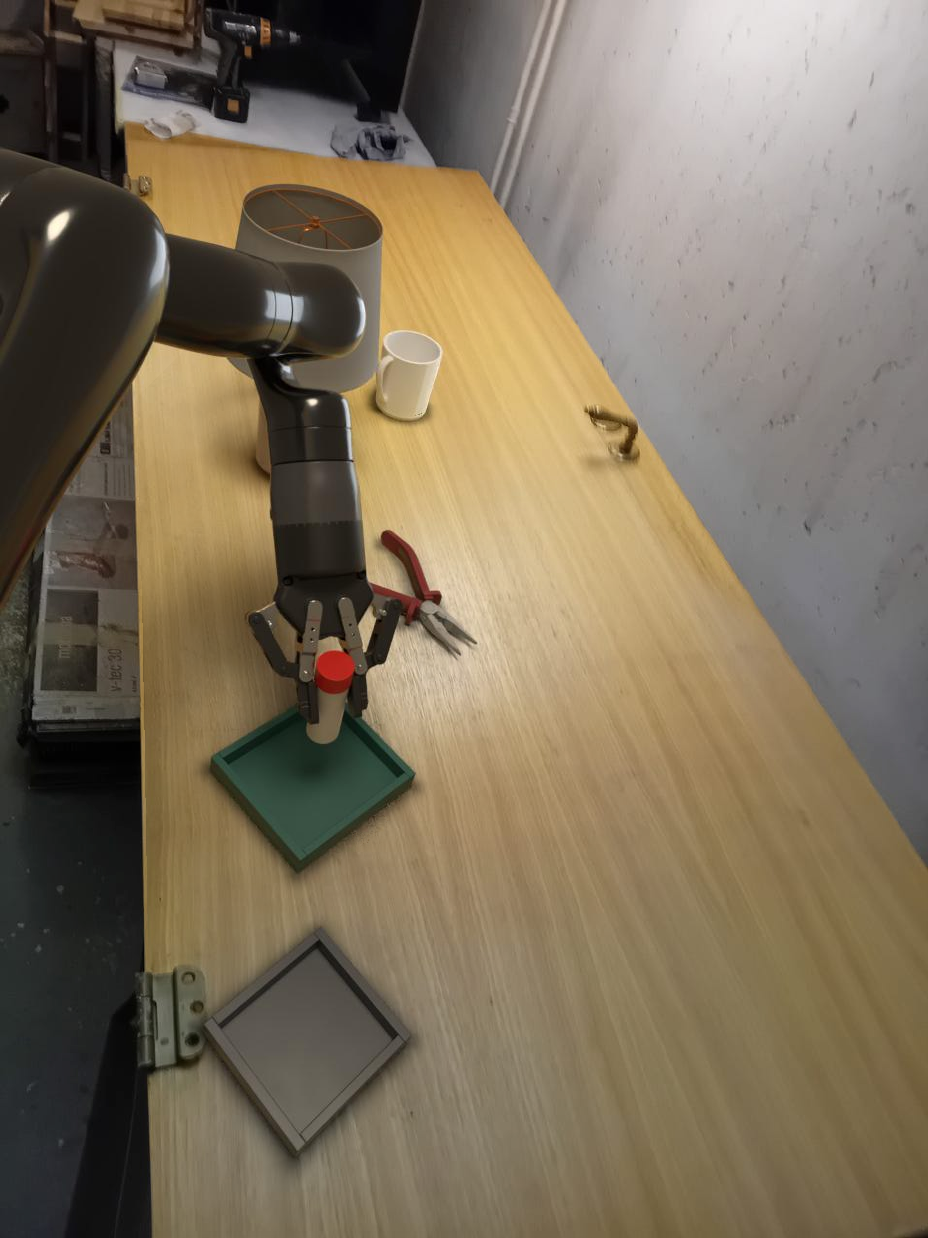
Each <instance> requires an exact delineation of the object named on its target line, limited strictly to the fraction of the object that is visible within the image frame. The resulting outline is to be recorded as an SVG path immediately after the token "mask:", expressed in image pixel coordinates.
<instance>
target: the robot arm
mask: <svg viewBox="0 0 928 1238" xmlns="http://www.w3.org/2000/svg"><path fill="white" fill-rule="evenodd" d="M366 321H367V315H366V307H365V303H364V300H363V297H362V295H361V293H360V291H359V289H358V287H357V286H356V284H355V283H354V281H353V280H352V279H351V278H350V277H349V276H348V275H347V274H346V273H344V272H343V271H342V270H340V269H338V268H336V267H334V266H331V265H328V264H321V263H306V262H274V261H267V260H265V259H263V258H260V257H257V256H254V255H251V254H248V253H245V252H242V251H239V250H236V249H235V248H231V247H228V246H224V245H220V244H216V243H212V242H209V241H208V242H207V241H204V240H199V239H194V238H190V237H185V236H181V235H177V234H173V233H168V232H166V231H165V228H164V225H163V224H162V222H161V220H160V218H159V216H157V214H156V213H155V211H153V209H152V208H151V207H150V206H149V205H148V203H146V201H145V200H143V199H141V198H140V197H139V196H137V195H136V194H134V193H133V192H130V191H128V190H127V189H125V188H123V187H120V186H119V185H117V184H115V183H112V182H109V181H107V180H104V179H102V178H98V177H97V176H96V177H95V176H93V175H90V174H87V173H84V172H81V171H78V170H74V169H72V168H69V167H66V166H63V165H61V164H57V163H55V162H50V161H48V160H44V159H41V158H38V157H35V156H32V155H29V154H25V153H23V152H19V151H16V150H12V149H9V148H7V147H4V146H3V147H2V146H0V616H1V615H2V613H3V611H4V609H5V607H6V604H7V602H8V600H9V598H10V596H11V595H12V592H13V591H14V588H15V586H16V585H17V582H18V580H19V578H20V576H21V575H22V572H23V571H24V568H25V566H26V564H27V562H28V561H29V559H30V557H31V555H32V553H33V551H34V549H35V548H36V545H37V544H38V541H39V540H40V538H41V536H42V534H43V532H44V531H45V529H46V527H47V525H48V523H49V521H50V519H51V518H52V515H53V514H54V512H55V511H56V508H57V507H58V505H59V503H60V502H61V500H62V498H63V497H64V495H65V493H66V492H67V489H68V488H69V487H70V485H71V483H72V482H73V480H74V479H75V477H76V475H77V474H78V472H79V471H80V470H81V467H82V465H83V464H84V462H85V461H86V459H87V458H88V456H89V455H90V453H91V451H92V449H93V448H94V446H95V445H96V443H97V441H98V440H99V438H100V437H101V435H102V434H103V432H104V430H105V428H107V426H108V423H109V422H110V421H111V419H112V417H113V416H114V414H115V413H116V411H117V409H118V408H119V406H120V404H121V402H122V401H123V400H124V398H125V396H126V394H127V392H128V390H130V388H131V386H132V384H133V382H135V381H134V380H136V378H137V376H138V373H139V372H140V370H141V368H142V366H143V364H144V362H145V361H146V358H147V356H148V354H149V352H150V350H151V347H152V346H153V344H154V343H156V344H160V345H163V346H167V347H171V348H175V349H179V350H182V351H183V350H184V351H186V352H191V353H196V354H201V355H204V356H205V355H206V356H211V357H217V358H226V359H227V358H242V359H246V361H247V363H248V366H249V369H250V371H251V374H252V377H253V379H252V380H253V384H254V386H255V389H256V392H257V395H258V400H259V399H260V402H261V405H262V408H263V412H264V415H265V420H266V427H267V440H268V451H269V461H270V466H271V467H270V476H269V504H270V506H269V507H270V508H269V518H270V521H271V526H272V537H273V538H272V539H273V549H274V557H275V570H276V581H277V584H276V585H277V586H276V589H275V592H274V594H273V597H272V601H271V602H270V603H268V604H266V605H264V606H262V607H260V608H259V609H256V610H248V611H247V612H246V613H245V614H244V622H245V623H246V625H247V626H248V628H249V630H250V632H251V634H252V637H254V639H255V641H256V643H257V645H258V646H259V649H260V650H261V652H262V653H263V656H264V657H265V659H266V661H267V663H268V664H269V666H270V668H271V670H272V671H273V672H274V673H275V674H276V675H278V676H279V677H281V678H288V679H292V680H293V681H294V684H295V694H296V704H297V706H298V712H299V714H300V715H301V717H303V718H304V719H306V720H307V722H308V723H309V724H310V725H313V724H319V710H318V699H317V687H316V682H315V681H314V674H315V666H316V657H317V654H318V650H319V641H323V640H325V639H327V638H330V637H331V638H337V642H338V645H339V647H340V648H341V651H342V652H345V653H346V654H348V655H349V656H350V657H351V658H352V659H353V661H354V664H355V670H354V674H353V678H352V683H351V685H350V687H349V691H348V695H347V699H346V702H347V704H348V712H349V715H350V716H351V717H353V718H358V717H361V718H362V717H363V711H365V710H367V709H368V706H369V697H368V696H369V695H368V683H367V682H368V681H367V673H369V670H370V669H372V668H374V667H376V666H382V665H384V664H385V663H386V662H387V660H388V655H389V652H390V649H391V645H392V642H393V639H394V636H395V634H396V630H397V626H398V624H399V620H400V617H401V614H402V613H401V611H402V608H403V603H402V601H401V600H399V599H396V598H392V597H385V596H382V595H379V594H376V593H374V591H373V588H372V586H371V585H370V583H371V582H370V581H369V579H368V575H367V573H368V572H367V560H366V547H365V546H366V545H365V535H364V533H365V532H364V521H363V508H362V498H361V497H362V496H361V488H360V483H359V478H358V474H357V470H356V469H357V468H356V463H355V461H356V460H355V448H354V437H353V435H354V434H353V423H352V411H351V408H350V407H351V406H350V403H349V401H348V399H347V398H346V396H344V395H343V393H338V392H335V391H331V390H326V389H317V388H308V387H302V386H301V385H300V383H299V382H298V380H297V378H296V376H295V374H294V370H293V364H295V363H304V362H313V361H321V360H329V359H337V358H341V357H344V356H346V355H348V354H350V353H351V352H353V351H354V350H355V349H356V347H357V346H358V345H359V343H360V342H361V340H362V338H363V336H364V333H365V329H366ZM369 582H370V583H369ZM370 606H371V607H372V611H371V613H372V616H373V617H374V618H375V622H374V625H373V628H372V632H371V634H370V637H369V641H368V644H367V647H366V651H364V649H363V647H364V644H363V639H362V635H361V632H360V628H359V625H360V623H361V621H362V619H363V618H364V616H365V614H366V612H367V611H368V609H369V607H370ZM278 614H280V616H281V617H282V618H283V619H284V620H285V621H286V622H287V624H289V626H290V627H291V628H292V629H293V630H294V631H295V636H294V659H293V662H291V661H289V660H288V659H287V657H286V656H285V654H284V653H285V652H284V651H283V650H282V647H281V646H280V644H279V643H278V640H277V639H276V637H275V635H274V633H273V632H274V631H276V629H278V628H277V627H278V622H277V615H278Z"/></svg>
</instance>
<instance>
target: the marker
mask: <svg viewBox="0 0 928 1238" xmlns="http://www.w3.org/2000/svg"><path fill="white" fill-rule="evenodd" d="M354 670H355V664H354V661H353V659H352V658H351V657H350V656H349V655H348V654H346V653H345V652H343V651H342V650H337V649H334V650H333V649H331V650H327V651H324V652H323V653H321V654H320V655H319V656H318V658H317V660H316V662H315V668H314V675H313V680H314V681H315V682H316V687H317V699H318V710H319V724H313V725H310V724H309V723H308V722H307V728H306V731H307V734H308V736H309V738H310V739H311V740H313V741H314V742H316V743H320V744H327V743H330V742H332V741H334V740H335V739H336V738H337V736H338V734H339V730H340V726H341V721H342V717H343V713H344V708H345V704H346V702H347V695H348V691H349V687H350V685H351V683H352V678H353V674H354Z"/></svg>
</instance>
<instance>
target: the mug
mask: <svg viewBox="0 0 928 1238" xmlns="http://www.w3.org/2000/svg"><path fill="white" fill-rule="evenodd" d="M380 353H381V354H380V361H378V367H377V370H376V373H375V387H376V393H375V404H376V406H377V408H378V409H379V410H380V412H381V413H383V414H384V415H385V416H387V417H390V418H391V419H394V420H398V421H402V422H403V421H405V422H409V421H412V422H413V421H416V420H419V419H421V418H422V417H423V416H424V415H425V414H426V412H427V408H428V406H429V402H430V399H431V396H432V392H433V388H434V386H435V383H436V378H437V376H438V372H439V368H440V366H441V363H442V358H443V355H444V351H443V348H442V346H441V344H439V343H438V342H437V341H436V340H435V339H433V338H432V337H430V336H429V335H426V334H424V333H422V332H418V331H414V330H408V329H399V330H398V329H397V330H393V331H391V332H388V333H387V334H386V335H384V337H383V340H382V347H381V352H380ZM421 413H422V414H421ZM418 414H420V415H418ZM415 415H416V416H415Z"/></svg>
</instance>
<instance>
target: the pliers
mask: <svg viewBox="0 0 928 1238" xmlns="http://www.w3.org/2000/svg"><path fill="white" fill-rule="evenodd" d="M380 541H381V542H382V545H383V546H384V547H385V548H386V549H387V550H389V552H391V553H392V554H394V555H395V557H397V558H398V559H399V560H400V561H401V563H402V564H403V565H404V567H405V569H406V573H407V575H408V578H409V581H410V583H411V587H412V589H413V592H414V595H415V596H410V595H408V594H405V593H402V592H399V591H396V590H393V589H390V588H387V587H385V586H382V585H379V584H376V583H373V582H371V581H369V583H370V585H371V586H372V588H373V591H374V593H376V594H379V595H382V596H385V597H392V598H396V599H399V600H401V601H402V603H403V608H402V611H401V614H404V615H405V620H404V623H405V624H406V625H411V623H412V620H417V619H418V618H419V619H420V621H421V622H422V623H423V625H424V626H425V627H426V628H427V629H428V631H430V633H431V634H433V635H434V636H435V637H436V638H437V639H439V640H440V641H441V642H442V643H444V644H445V645H446V646H447V647H448V648H450V649H451V650H452V651H453V652H455V653H456V654H457V655H458V656H459V657H461V656H462V652H461V651H460V649H459V647H458V645H456V643H455V641H454V640H453V638H452V637H451V634H450V633H453V634H454V635H456V636H458V637H460V638H462V639H464V640H466V641H468V642H469V643H471V644H473V645H478V641H477V640H476V639H475V638H474V637H473V636H472V635H471V634H470V633H469V632H468V631H467V629H465V628H464V627H463V626H462V625H461V624H460V622H458V620H456V618H454V617H453V615H451V614H450V613H449V612H448V611H446V610H445V609H443V608H442V607H440V604H441V601H442V598H443V595H442V593H441V591H440V590H437V589H435V590H430V587H429V585H428V582H427V579H426V575H425V573H424V571H423V568H422V565H421V562H420V559H419V557H418V556H417V553H416V552H415V550H414V548H412V546H411V544H409V543H408V542H407V541H405V540H404V539H403V538H402V537H400V536H399V535H398V534H397V533H396V532H394V531H393V530H390V529H385V530H383V531H382V532H381V534H380ZM449 632H450V633H449Z"/></svg>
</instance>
